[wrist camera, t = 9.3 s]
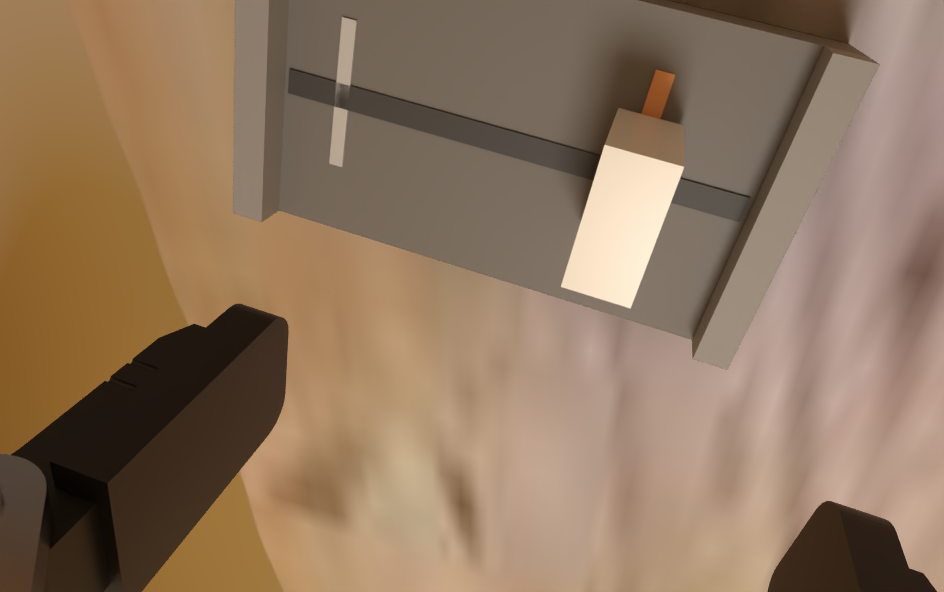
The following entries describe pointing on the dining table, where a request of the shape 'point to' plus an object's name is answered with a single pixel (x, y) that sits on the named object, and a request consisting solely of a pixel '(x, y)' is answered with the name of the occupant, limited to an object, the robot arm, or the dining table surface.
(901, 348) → the dining table surface
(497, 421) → the dining table surface
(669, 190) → the fader tab
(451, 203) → the console
